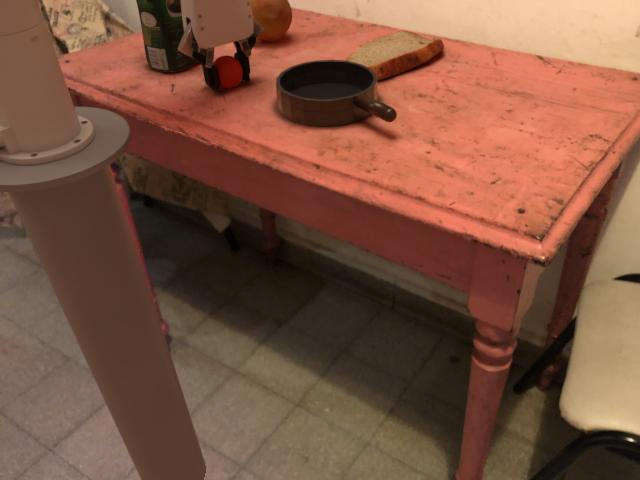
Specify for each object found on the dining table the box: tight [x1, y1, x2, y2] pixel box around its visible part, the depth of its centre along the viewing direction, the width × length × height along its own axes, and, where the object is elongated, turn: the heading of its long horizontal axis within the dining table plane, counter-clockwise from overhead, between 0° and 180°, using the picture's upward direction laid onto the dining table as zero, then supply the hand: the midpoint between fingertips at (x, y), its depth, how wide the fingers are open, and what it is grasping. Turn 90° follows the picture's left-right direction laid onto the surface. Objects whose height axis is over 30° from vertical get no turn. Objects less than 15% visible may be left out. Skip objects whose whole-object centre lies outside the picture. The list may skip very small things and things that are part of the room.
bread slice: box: [346, 29, 445, 81], centre depth 102 cm, size 18×18×4 cm
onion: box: [250, 0, 293, 43], centre depth 110 cm, size 10×10×10 cm
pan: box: [275, 59, 379, 127], centre depth 90 cm, size 15×15×4 cm
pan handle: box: [354, 94, 398, 123], centre depth 83 cm, size 2×8×2 cm, turn 40°
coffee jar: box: [135, 0, 199, 73], centre depth 99 cm, size 10×8×19 cm
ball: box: [213, 55, 243, 89], centre depth 95 cm, size 5×5×5 cm
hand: (229, 82), depth 97 cm, fingers closed on ball, 4 cm apart
